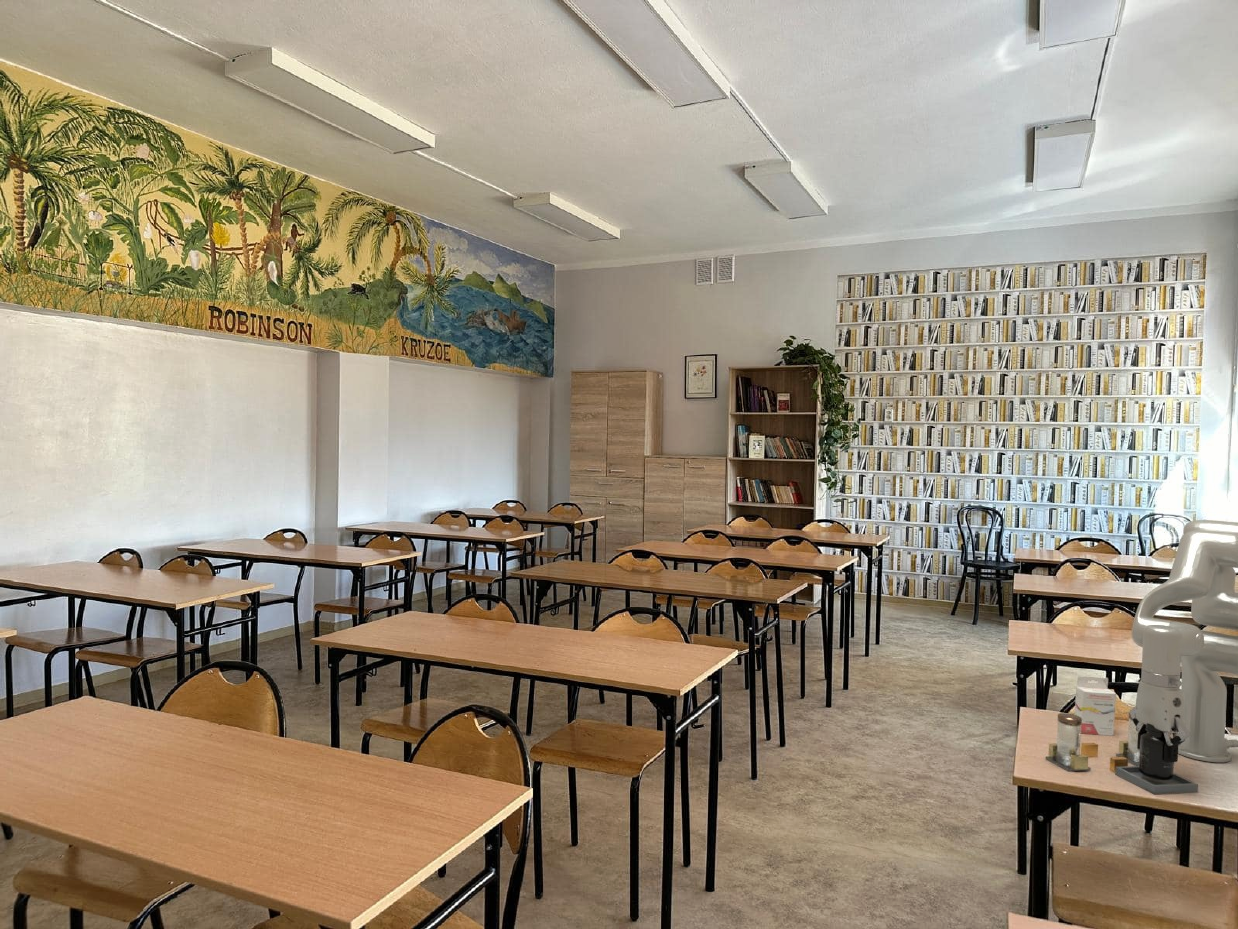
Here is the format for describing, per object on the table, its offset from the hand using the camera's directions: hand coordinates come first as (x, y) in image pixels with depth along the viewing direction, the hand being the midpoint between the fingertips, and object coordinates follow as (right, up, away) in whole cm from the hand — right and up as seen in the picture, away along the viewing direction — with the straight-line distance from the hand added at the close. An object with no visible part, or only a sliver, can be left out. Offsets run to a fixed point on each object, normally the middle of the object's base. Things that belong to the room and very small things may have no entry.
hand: (1157, 754), depth 193 cm
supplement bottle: (0, -5, 0) cm, 5 cm away
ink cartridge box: (+5, -6, +35) cm, 36 cm away
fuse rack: (-6, -6, +12) cm, 14 cm away
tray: (0, -7, 0) cm, 7 cm away
